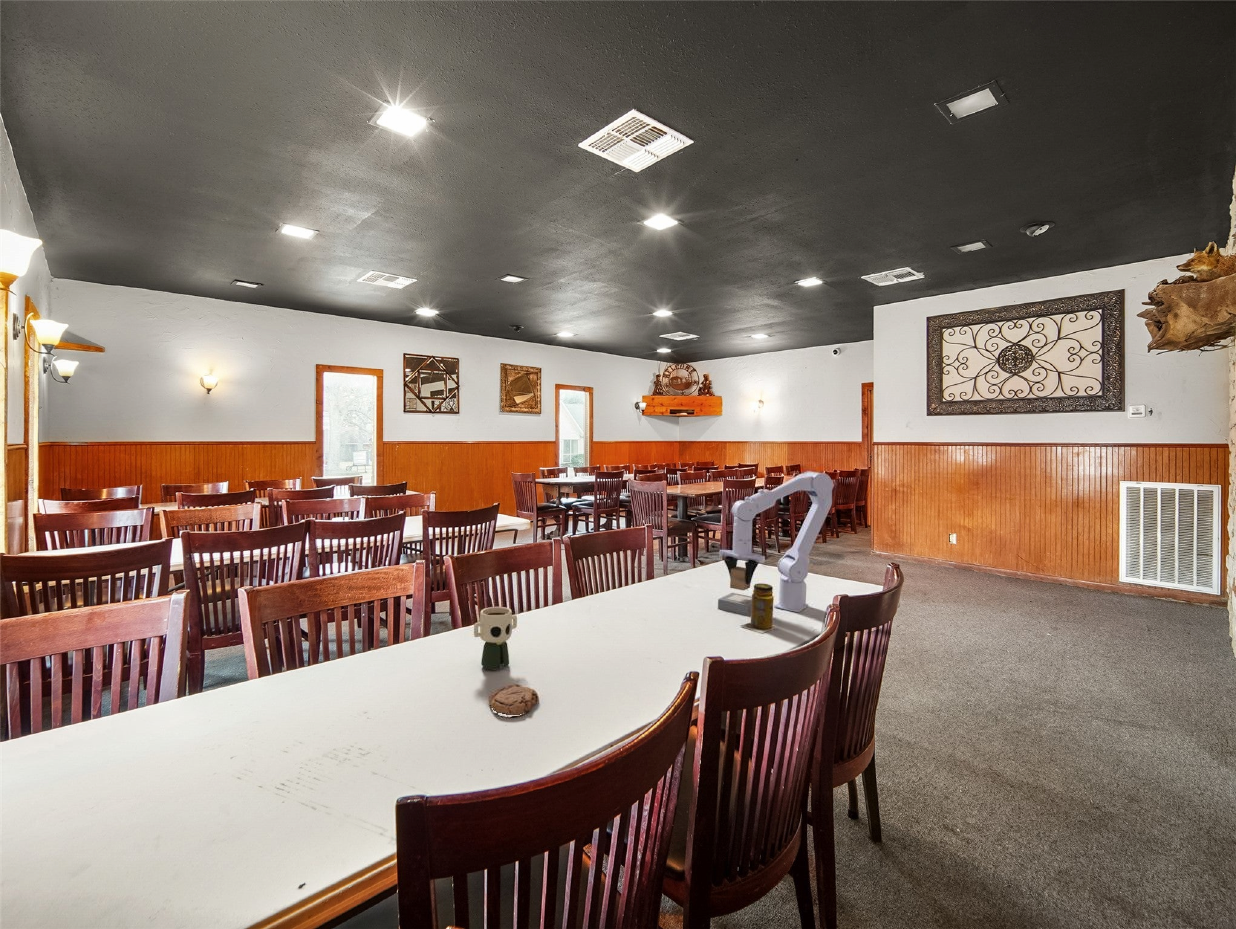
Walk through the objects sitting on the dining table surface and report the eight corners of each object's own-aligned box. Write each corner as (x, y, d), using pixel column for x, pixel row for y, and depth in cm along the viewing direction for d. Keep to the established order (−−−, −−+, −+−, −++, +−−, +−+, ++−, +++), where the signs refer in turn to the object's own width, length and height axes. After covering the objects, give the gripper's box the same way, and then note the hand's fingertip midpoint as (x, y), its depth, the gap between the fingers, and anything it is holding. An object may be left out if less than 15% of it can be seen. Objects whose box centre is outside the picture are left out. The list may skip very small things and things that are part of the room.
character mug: (481, 677, 129) (481, 619, 128) (466, 667, 134) (467, 611, 133) (523, 665, 136) (525, 610, 135) (508, 656, 141) (509, 603, 141)
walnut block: (736, 584, 188) (737, 566, 187) (750, 587, 185) (750, 568, 185) (730, 587, 184) (730, 568, 184) (743, 590, 181) (744, 571, 181)
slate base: (732, 601, 192) (732, 592, 192) (760, 607, 186) (761, 598, 186) (717, 608, 184) (718, 598, 184) (747, 615, 178) (747, 605, 178)
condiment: (778, 627, 168) (780, 585, 168) (762, 633, 162) (764, 591, 162) (756, 620, 173) (758, 580, 173) (739, 626, 168) (741, 585, 167)
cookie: (489, 721, 111) (489, 706, 110) (487, 696, 121) (487, 682, 121) (542, 716, 113) (542, 701, 113) (536, 692, 123) (536, 678, 123)
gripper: (715, 537, 185) (713, 580, 186) (758, 544, 176) (757, 588, 177) (725, 534, 191) (724, 576, 191) (768, 540, 182) (766, 584, 183)
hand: (740, 582), depth 185 cm, fingers closed on walnut block, 5 cm apart
